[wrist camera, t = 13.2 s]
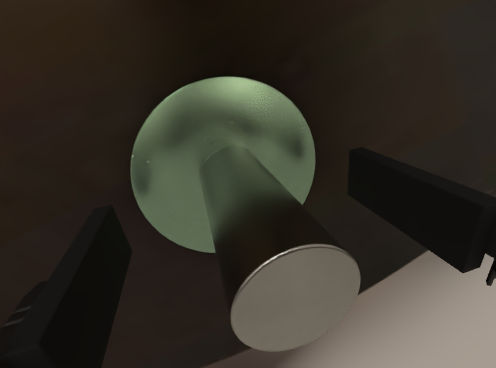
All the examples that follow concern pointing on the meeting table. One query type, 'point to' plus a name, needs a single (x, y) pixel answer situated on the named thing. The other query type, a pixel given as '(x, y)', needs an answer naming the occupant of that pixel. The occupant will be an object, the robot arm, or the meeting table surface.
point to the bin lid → (245, 206)
